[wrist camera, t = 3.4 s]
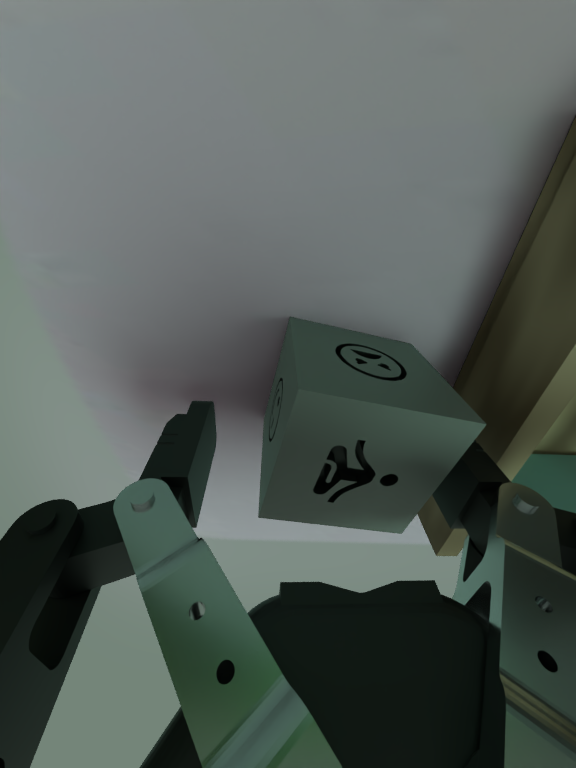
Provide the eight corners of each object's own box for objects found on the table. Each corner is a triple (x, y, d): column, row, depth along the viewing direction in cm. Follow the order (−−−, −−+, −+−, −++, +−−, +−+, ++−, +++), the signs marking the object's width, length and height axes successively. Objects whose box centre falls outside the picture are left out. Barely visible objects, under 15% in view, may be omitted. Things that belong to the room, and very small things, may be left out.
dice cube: (289, 316, 11) (298, 389, 7) (410, 343, 12) (486, 424, 7) (264, 418, 13) (258, 517, 9) (364, 435, 14) (401, 533, 10)
